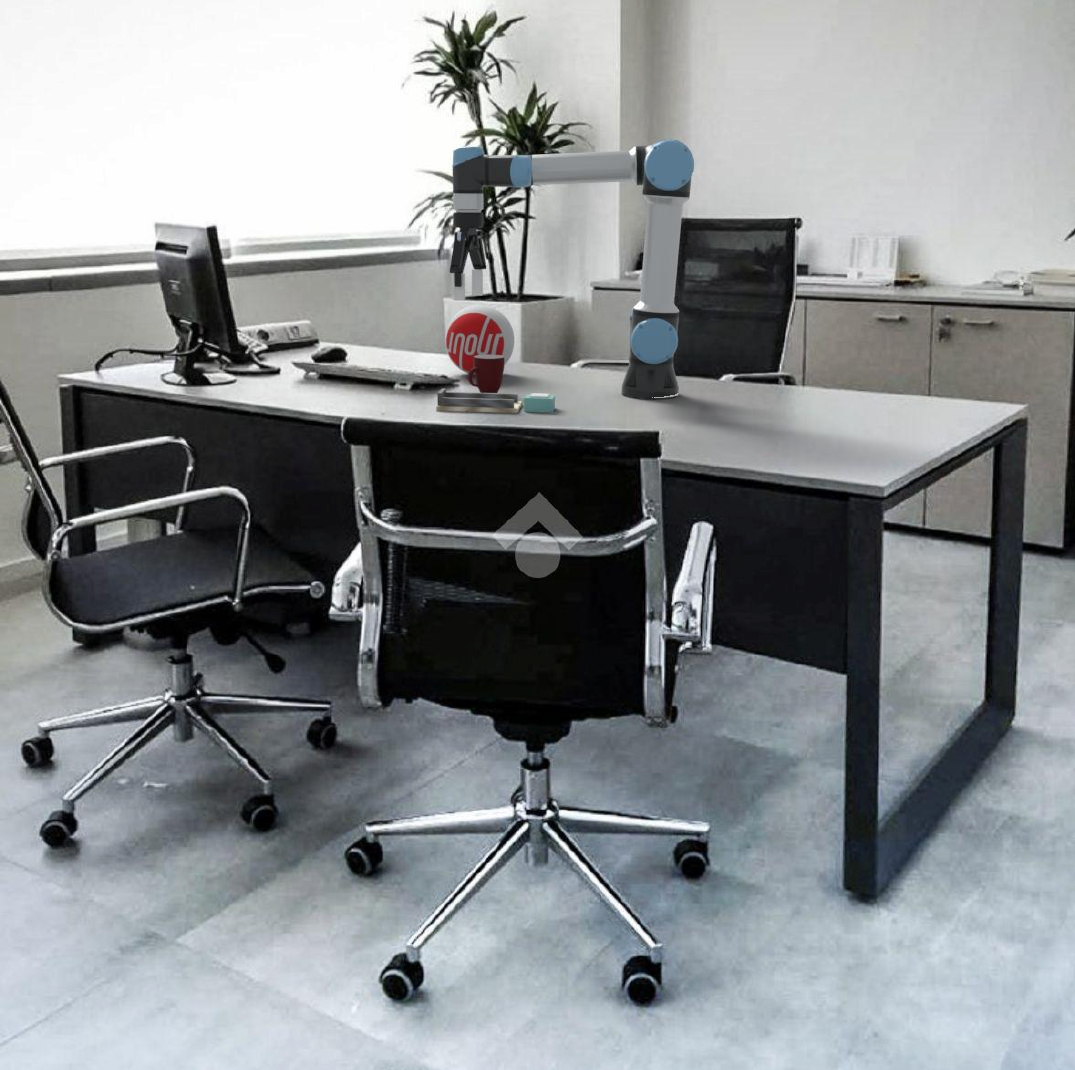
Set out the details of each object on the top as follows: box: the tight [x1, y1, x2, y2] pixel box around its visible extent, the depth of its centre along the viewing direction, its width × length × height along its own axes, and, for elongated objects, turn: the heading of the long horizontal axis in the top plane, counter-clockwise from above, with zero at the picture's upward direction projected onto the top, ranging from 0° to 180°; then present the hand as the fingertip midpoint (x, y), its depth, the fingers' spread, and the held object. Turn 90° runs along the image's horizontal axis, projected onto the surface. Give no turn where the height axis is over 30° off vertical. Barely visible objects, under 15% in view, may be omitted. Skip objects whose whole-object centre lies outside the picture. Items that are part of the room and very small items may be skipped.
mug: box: [467, 355, 505, 393], centre depth 345 cm, size 10×8×10 cm
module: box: [523, 392, 556, 413], centre depth 326 cm, size 7×6×4 cm
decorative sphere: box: [444, 304, 515, 376], centre depth 376 cm, size 20×20×20 cm
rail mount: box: [435, 387, 523, 414], centre depth 328 cm, size 20×11×4 cm, turn 85°
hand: (468, 297), depth 333 cm, fingers open, 13 cm apart
